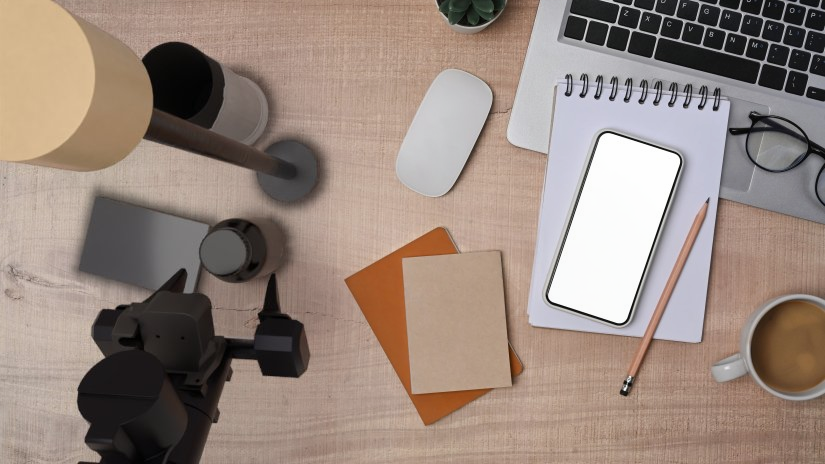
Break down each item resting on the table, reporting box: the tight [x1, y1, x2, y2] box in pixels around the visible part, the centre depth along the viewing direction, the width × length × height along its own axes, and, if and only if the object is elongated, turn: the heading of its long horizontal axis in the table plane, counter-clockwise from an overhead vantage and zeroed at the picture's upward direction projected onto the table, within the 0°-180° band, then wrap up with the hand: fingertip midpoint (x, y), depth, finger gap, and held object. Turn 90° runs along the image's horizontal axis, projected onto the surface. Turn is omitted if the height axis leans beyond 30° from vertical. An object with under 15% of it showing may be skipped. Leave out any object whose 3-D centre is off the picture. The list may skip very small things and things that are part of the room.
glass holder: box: [140, 41, 270, 146], centre depth 63 cm, size 9×14×15 cm, turn 84°
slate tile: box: [77, 195, 212, 293], centre depth 71 cm, size 9×14×1 cm, turn 76°
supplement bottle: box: [199, 217, 287, 285], centre depth 65 cm, size 7×7×12 cm
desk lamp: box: [0, 0, 321, 203], centre depth 48 cm, size 7×7×46 cm
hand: (229, 273), depth 61 cm, fingers open, 9 cm apart
